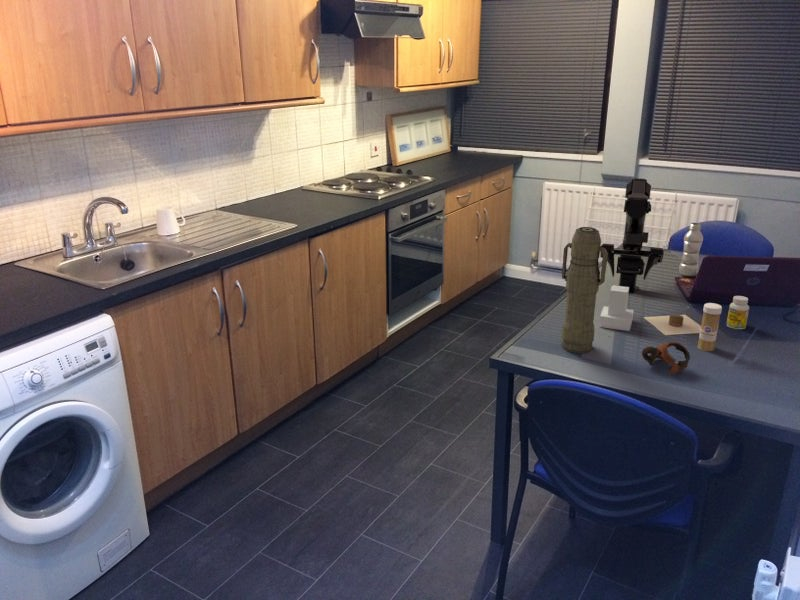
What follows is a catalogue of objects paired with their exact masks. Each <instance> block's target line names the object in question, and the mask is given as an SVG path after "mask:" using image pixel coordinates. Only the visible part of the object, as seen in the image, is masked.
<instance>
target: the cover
mask: <svg viewBox="0 0 800 600" xmlns="http://www.w3.org/2000/svg"><path fill="white" fill-rule="evenodd" d="M629 293H630V292H629V287H623V286H618V285H612V286H611V287H610V291H609V299H608V305H607V306H606V305H604V306H603V307H602V309H601V312H600V315H599V325H598V327H599V328H605V329H606V328H607V329H612V330H620V331H626V332H631V328H632V323H633V317H634V309H628V300H629Z"/></svg>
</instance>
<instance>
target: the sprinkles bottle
mask: <svg viewBox="0 0 800 600" xmlns="http://www.w3.org/2000/svg"><path fill="white" fill-rule="evenodd" d="M722 311H723V307H722V305H721V304H718V303H714V302H706V303H704V305H703V311H702V312H703V314H702V320H701V324H700V326H701V329H700V333H699V335H698V342H697V343H698V344H697V346H696V347H697V349H699V350H701V351H704V352H712V351H714V350H715V347H716V346H715V345H716V341H717V337H718V336H717V335H718V331H719V323H720V318H721V317H720V316H721V314H722Z"/></svg>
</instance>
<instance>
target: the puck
mask: <svg viewBox="0 0 800 600" xmlns="http://www.w3.org/2000/svg"><path fill="white" fill-rule="evenodd" d="M680 315H681V314H671V315H669V316H670V317H669V325H670V326H674V327H681V326H682V325H683V319H684V317H683V316H680Z"/></svg>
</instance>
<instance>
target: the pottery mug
mask: <svg viewBox="0 0 800 600" xmlns="http://www.w3.org/2000/svg"><path fill="white" fill-rule="evenodd" d="M672 346H673V347H675V350H677V351H679V352H682V353H683V356H684V360H679V361H678V363H676V358H675V357H673V356H672V355H671V354H670V353H669V351H668V348H669V347H672ZM649 354H650V355H649ZM641 355H642V358H643V359H644V360H645V361H647V362H648V364H649V365H650V366H653V365H654V362H655V360H656V359H658V360H662V361H665V362H666V363H667V364H668V365H669V366H671V368H670V369H669V370H668V374H670V375H671V376H675V375H676V374H677V373H680V372H682V371H684V370H685V369H687V367H688V365H689V361H690V360H691V354H690V352H689V350H688V349H687V348H686V347H685V346H684V345H683V344H681V343H679V342H676V341H667V342H666V343H661V344H659V345H658V346H656V347H653V346H646V347H645V348H643V349H642V351H641Z"/></svg>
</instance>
